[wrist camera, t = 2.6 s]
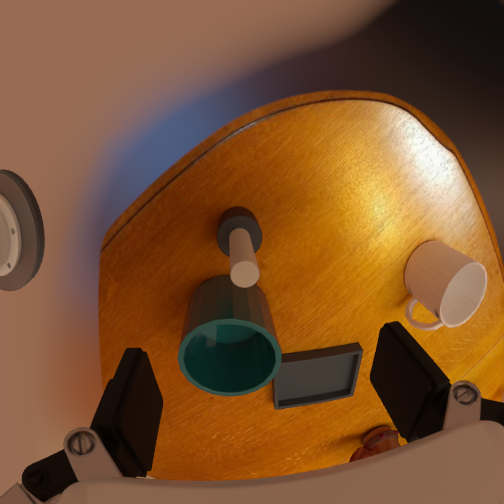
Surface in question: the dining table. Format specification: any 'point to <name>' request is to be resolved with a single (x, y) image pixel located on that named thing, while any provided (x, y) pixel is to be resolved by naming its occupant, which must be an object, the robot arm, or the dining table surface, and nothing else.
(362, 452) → the mug
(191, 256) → the dining table surface
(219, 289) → the jar
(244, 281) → the brush
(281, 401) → the tray
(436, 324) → the mug
